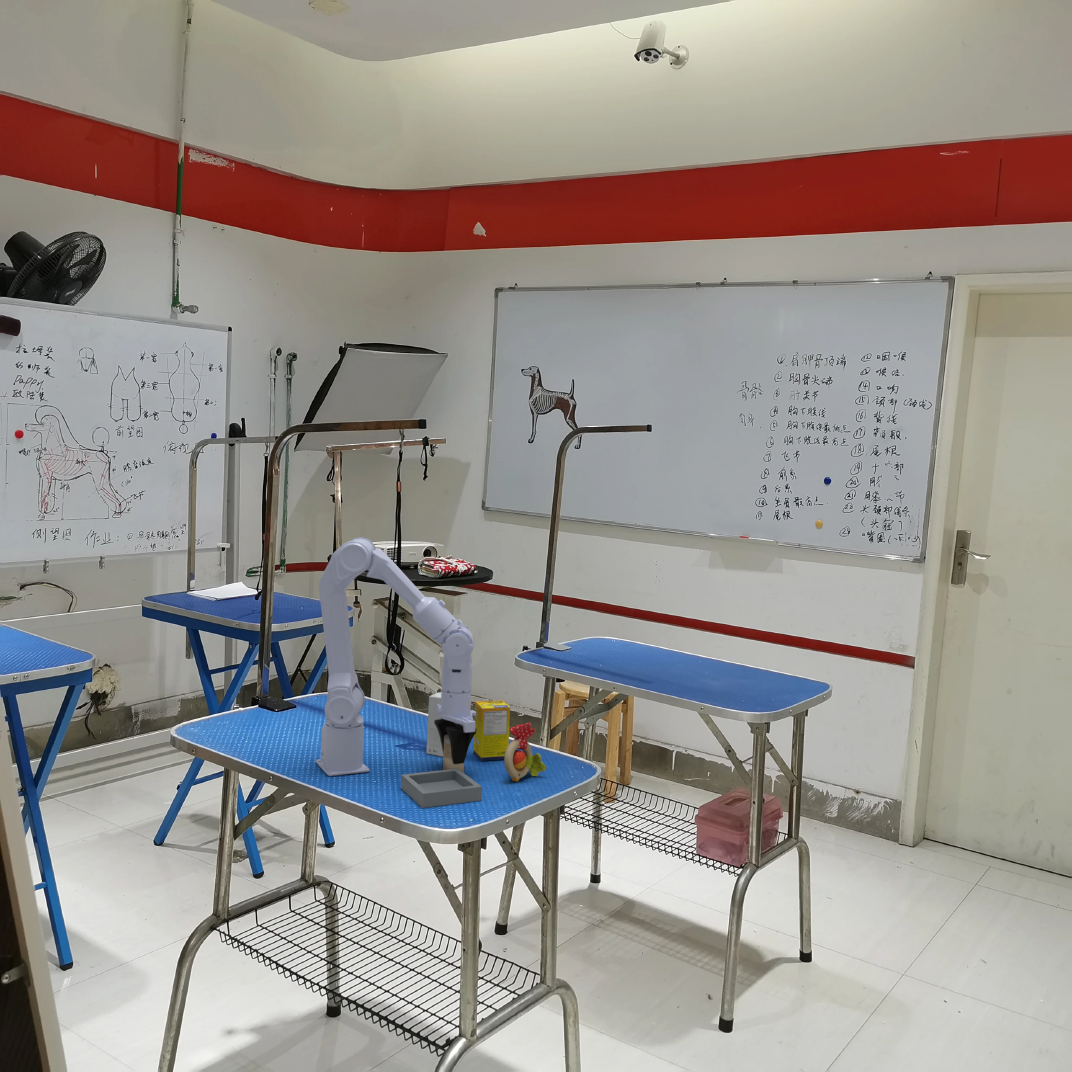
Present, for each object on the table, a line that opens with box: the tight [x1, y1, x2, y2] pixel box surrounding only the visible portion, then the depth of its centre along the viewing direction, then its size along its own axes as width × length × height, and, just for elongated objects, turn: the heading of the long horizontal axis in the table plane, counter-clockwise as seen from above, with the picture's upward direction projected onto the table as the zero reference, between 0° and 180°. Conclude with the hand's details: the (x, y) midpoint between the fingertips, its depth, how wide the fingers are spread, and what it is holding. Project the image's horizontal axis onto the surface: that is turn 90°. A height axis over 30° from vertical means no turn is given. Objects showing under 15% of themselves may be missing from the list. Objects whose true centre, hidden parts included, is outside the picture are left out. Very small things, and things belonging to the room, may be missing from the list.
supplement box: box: [473, 699, 511, 762], centre depth 203 cm, size 6×6×11 cm
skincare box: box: [426, 692, 444, 757], centre depth 205 cm, size 6×4×12 cm
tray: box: [400, 769, 483, 809], centre depth 179 cm, size 11×11×2 cm
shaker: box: [442, 734, 465, 774], centre depth 192 cm, size 4×4×7 cm
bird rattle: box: [503, 721, 548, 783], centre depth 190 cm, size 6×11×9 cm
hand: (453, 759), depth 192 cm, fingers closed on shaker, 4 cm apart
